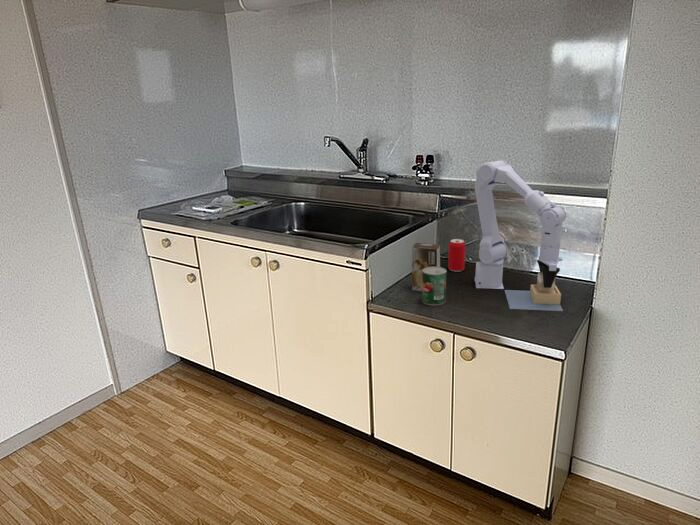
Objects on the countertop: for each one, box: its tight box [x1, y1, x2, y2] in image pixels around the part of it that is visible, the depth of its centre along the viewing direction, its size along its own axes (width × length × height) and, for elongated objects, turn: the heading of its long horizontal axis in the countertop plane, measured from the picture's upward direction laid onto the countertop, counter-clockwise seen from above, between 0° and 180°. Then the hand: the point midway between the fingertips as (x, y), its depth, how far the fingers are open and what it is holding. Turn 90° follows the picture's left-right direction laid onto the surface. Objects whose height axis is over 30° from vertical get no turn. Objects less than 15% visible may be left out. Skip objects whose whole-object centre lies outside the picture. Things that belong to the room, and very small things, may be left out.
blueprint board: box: [504, 284, 564, 312], centre depth 161 cm, size 16×16×4 cm
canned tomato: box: [421, 266, 448, 307], centre depth 163 cm, size 8×8×11 cm
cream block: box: [536, 271, 556, 290], centre depth 159 cm, size 4×4×4 cm
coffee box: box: [411, 242, 441, 292], centre depth 173 cm, size 9×6×16 cm
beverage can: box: [447, 238, 466, 273], centre depth 191 cm, size 6×6×12 cm
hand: (546, 284), depth 160 cm, fingers closed on cream block, 4 cm apart
